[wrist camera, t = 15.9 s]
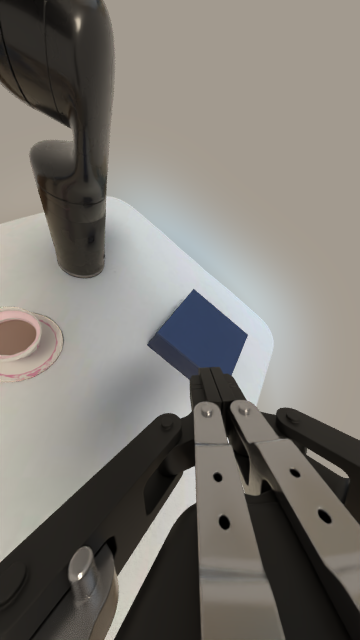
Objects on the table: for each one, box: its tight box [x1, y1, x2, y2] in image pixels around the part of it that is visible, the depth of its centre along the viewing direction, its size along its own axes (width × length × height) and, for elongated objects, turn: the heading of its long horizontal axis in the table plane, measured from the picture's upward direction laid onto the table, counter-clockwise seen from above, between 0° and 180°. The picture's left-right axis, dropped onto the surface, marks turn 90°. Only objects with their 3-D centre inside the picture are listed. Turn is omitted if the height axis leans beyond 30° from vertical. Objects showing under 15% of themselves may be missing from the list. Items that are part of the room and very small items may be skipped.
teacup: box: [0, 307, 63, 382], centre depth 27 cm, size 12×12×6 cm
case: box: [147, 334, 199, 380], centre depth 39 cm, size 14×17×7 cm
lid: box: [156, 289, 248, 375], centre depth 36 cm, size 14×17×1 cm
